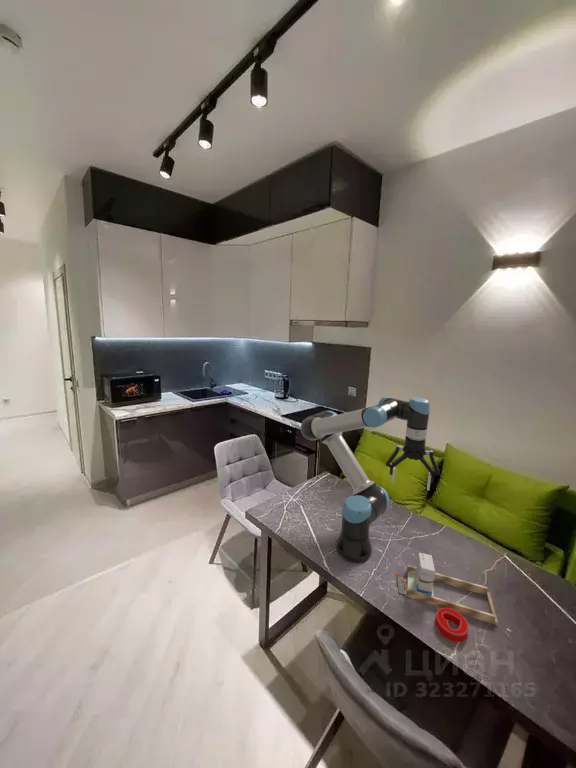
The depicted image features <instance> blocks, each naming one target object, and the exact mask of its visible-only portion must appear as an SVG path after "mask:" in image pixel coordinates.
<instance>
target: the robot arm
mask: <svg viewBox="0 0 576 768" xmlns="http://www.w3.org/2000/svg"><path fill="white" fill-rule="evenodd" d="M430 405H431V403H430V401H429V400H428V399H426V398H422V397H411V398H409V401H406V400H403V399H402V400H401V399H399V398H398V399H396V398H393V397H388V396H387V397H386V396H384V397H382V398H381V399H379V401H378V403H377V405H373V406H368V407H364V408H361V409H356V410H353V411H347V412H344V413H340V414H338V413H336V412H334V411H332V410H324V411H321V412H318V413H315V414H312V415H309V416H307V417H306V418H304V419H303V420H302V422H301V424H300V432H301V435H302V436H303V438H305V439H306V440H309V441H318V440H320V442H321V444H324V445H327V447H328V449H329V450H330V452H331V453H332V456H333V457H334V459H335V461H336V462H337V464H338V466H339V467H340V469H341V471H342V472H343V474H344V476H345V478H346V479H347V481H348V483H349V484H350V486H351V487H352V489H353V491H352V495H350V496H348V497H347V498H346V499H345V500H344V502H343V504H342V509H341V514H342V515H341V531H340V533H339V536H338V538H337V540H336V546H335V547H336V550H337V551H338V552H337V551H336V552H337V554H338V555H339V554H340V555H341V556H342V558H343V559H344V560H346V561H348V562H351V561H352V562H351V563H364V562H367V561H368V560H369V559H370V558H371V556H372V553H373V552H372V550H373V549H372V548H373V546H372V543H371V539H370V536H369V535H370V534H369V533H370V526H371V525H372V524H373V523H374V522H375V521H376V520H377V519H378V518H379V517H380V516H382V515H383V514H384V513H385V512H386V511H387V509H388V508H389V506H390V497H389V494H388V492H387V491H386V489H385V488H383V487H381V485H378V484H376V482H375V481H374V480H370V479H369V477H368V475H367V474H366V472H365V471H364V469H363V467H362V466H361V464H360V462H359V461H358V460H357V458H356V456H355V454H354V453H353V450H351V448H350V446H349V445H348V443H347V442H346V439H344V437H343V433H344V432H349V431H354V430H358V429H365V428H372V429H373V428H377V427H378V428H379V427H381V426H383V425H385V424H386V423H389V422H390V421H392V420H395V419H399V420H403V421H406V429H405V430H406V431H405V438H404V446H401V445H400V444H397V445H396V446H395V449H394V450H393V453H392V454H391V455H390V456H389V458H388V459H387V461H386V462H385V466H386V467H389V475H390V476H392V477H391V484H393V485H394V483H395V473H396V466H398V465H399V464H401V462H403V461H405V460H406V459H407V458H408V459H409V460H415V461H418V460H419V461H420V463H422V465H423V466H424V467H425V468H426V469H427V471H428V477H427V486H426V491H427V492H428V491H430V488H431V483H433V484H434V482H435V477H436V476H441V474H440V469H439V467H438V464H437V462H436V460H435V457H434V451H433V450H432V449H429V450H426V443H427V442H426V441H427V440H426V438H427V433H428V424H429V418H430V417H429V416H430V413H431V412H430V411H431V410H430ZM401 451H403V453H402V454H401V455H400V456H398V454H399V452H401ZM425 455H427V457H429V459H430V462H431V464H432V467H431V465H430V463H429V462H428V461H427V460H426V458H425V457H424V456H425ZM397 456H398V458H396V457H397ZM395 458H396V459H395ZM394 459H395V460H394ZM340 555H339V556H340ZM341 556H340V557H341Z"/></svg>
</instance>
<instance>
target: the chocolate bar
mask: <svg viewBox="0 0 576 768" xmlns="http://www.w3.org/2000/svg"><path fill="white" fill-rule="evenodd" d="M395 576H396V588H397V587H398V594H399V595H403V596H402V597H406V590H407V588H408V576H404V575H402V574H399V573H395Z"/></svg>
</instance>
